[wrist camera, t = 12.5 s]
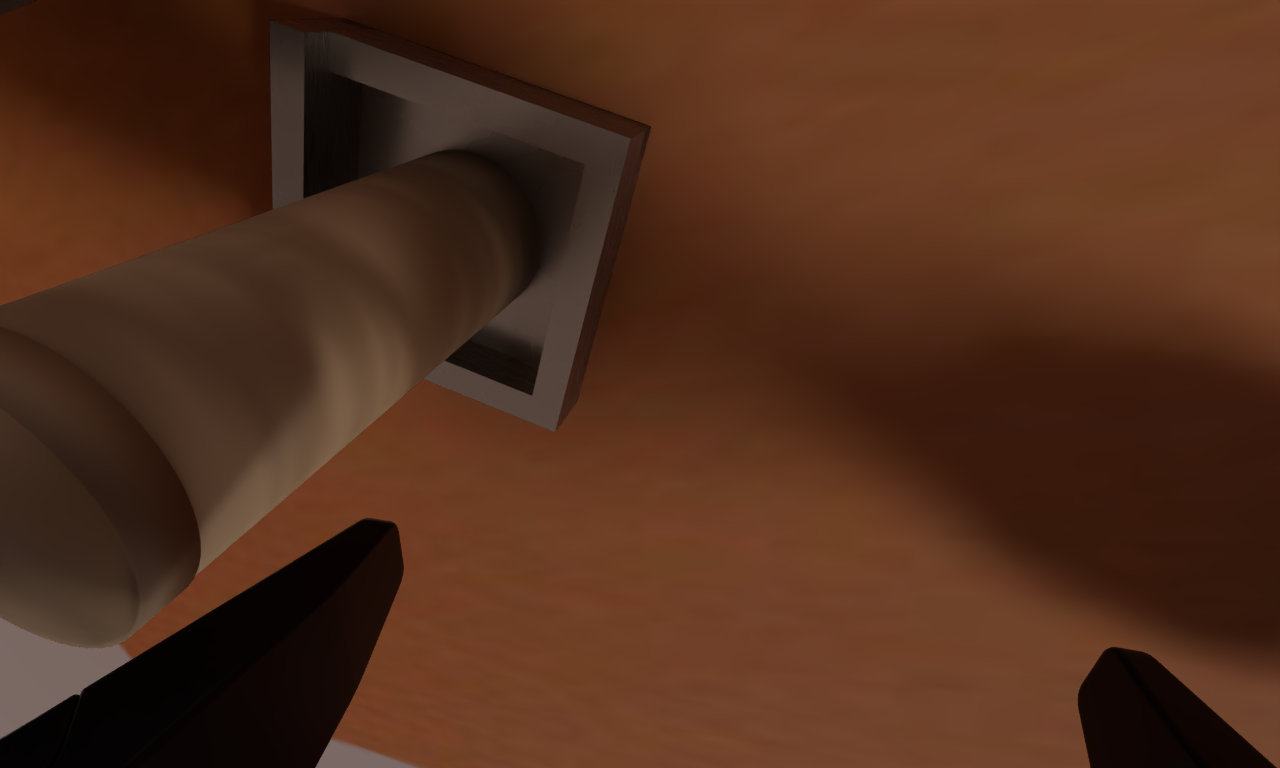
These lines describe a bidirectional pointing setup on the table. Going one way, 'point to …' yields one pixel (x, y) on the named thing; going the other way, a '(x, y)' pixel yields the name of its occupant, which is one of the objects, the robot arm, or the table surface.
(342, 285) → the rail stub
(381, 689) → the table surface
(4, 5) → the plant pot
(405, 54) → the grey tray
